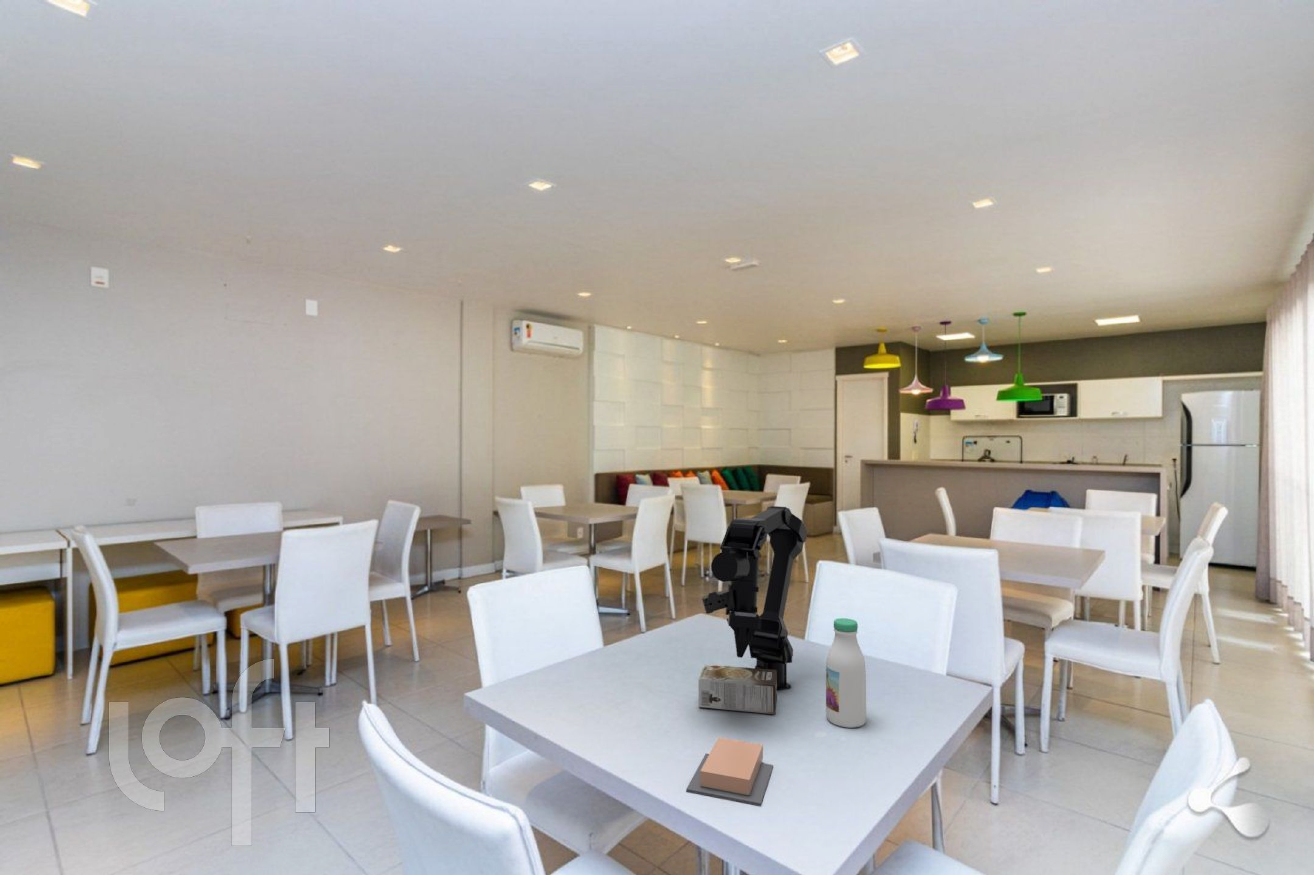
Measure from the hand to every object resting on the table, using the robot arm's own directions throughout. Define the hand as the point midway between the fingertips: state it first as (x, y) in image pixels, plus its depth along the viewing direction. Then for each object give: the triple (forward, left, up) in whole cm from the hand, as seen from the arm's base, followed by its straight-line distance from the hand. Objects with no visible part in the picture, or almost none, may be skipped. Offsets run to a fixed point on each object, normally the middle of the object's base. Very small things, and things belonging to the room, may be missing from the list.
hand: (739, 656), depth 128 cm
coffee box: (+4, -10, -9) cm, 14 cm away
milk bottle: (-18, +11, -12) cm, 24 cm away
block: (+10, +15, -10) cm, 20 cm away
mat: (+15, +20, -12) cm, 27 cm away
